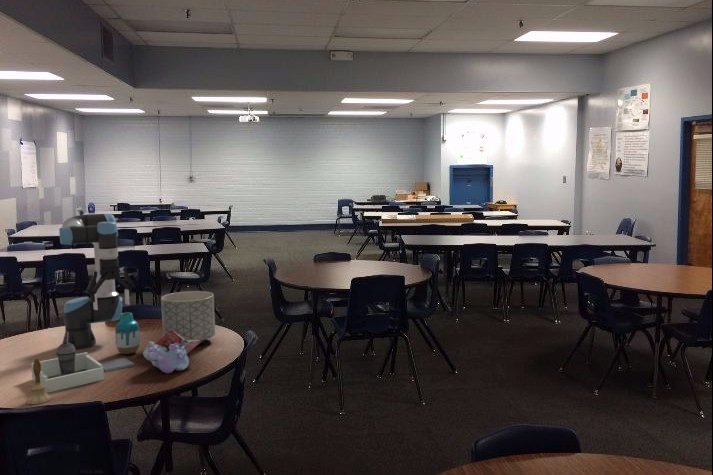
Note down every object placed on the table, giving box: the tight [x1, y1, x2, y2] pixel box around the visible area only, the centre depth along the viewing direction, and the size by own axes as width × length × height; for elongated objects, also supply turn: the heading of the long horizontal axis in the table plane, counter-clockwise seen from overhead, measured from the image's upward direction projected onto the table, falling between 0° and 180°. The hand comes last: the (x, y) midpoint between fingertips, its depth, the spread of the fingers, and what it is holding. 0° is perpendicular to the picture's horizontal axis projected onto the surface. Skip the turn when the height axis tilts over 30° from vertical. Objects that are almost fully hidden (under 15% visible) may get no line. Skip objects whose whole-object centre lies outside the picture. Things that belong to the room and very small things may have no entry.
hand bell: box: [25, 358, 52, 405], centre depth 224 cm, size 8×8×16 cm
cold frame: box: [30, 351, 105, 394], centre depth 247 cm, size 21×22×7 cm
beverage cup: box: [56, 332, 77, 376], centre depth 247 cm, size 7×7×20 cm
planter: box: [160, 290, 216, 345], centre depth 297 cm, size 25×25×24 cm
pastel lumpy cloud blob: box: [142, 330, 203, 375], centre depth 260 cm, size 20×22×18 cm
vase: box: [115, 312, 141, 355], centre depth 282 cm, size 11×11×19 cm
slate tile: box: [99, 357, 135, 372], centre depth 265 cm, size 12×12×1 cm
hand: (111, 306), depth 258 cm, fingers open, 13 cm apart
